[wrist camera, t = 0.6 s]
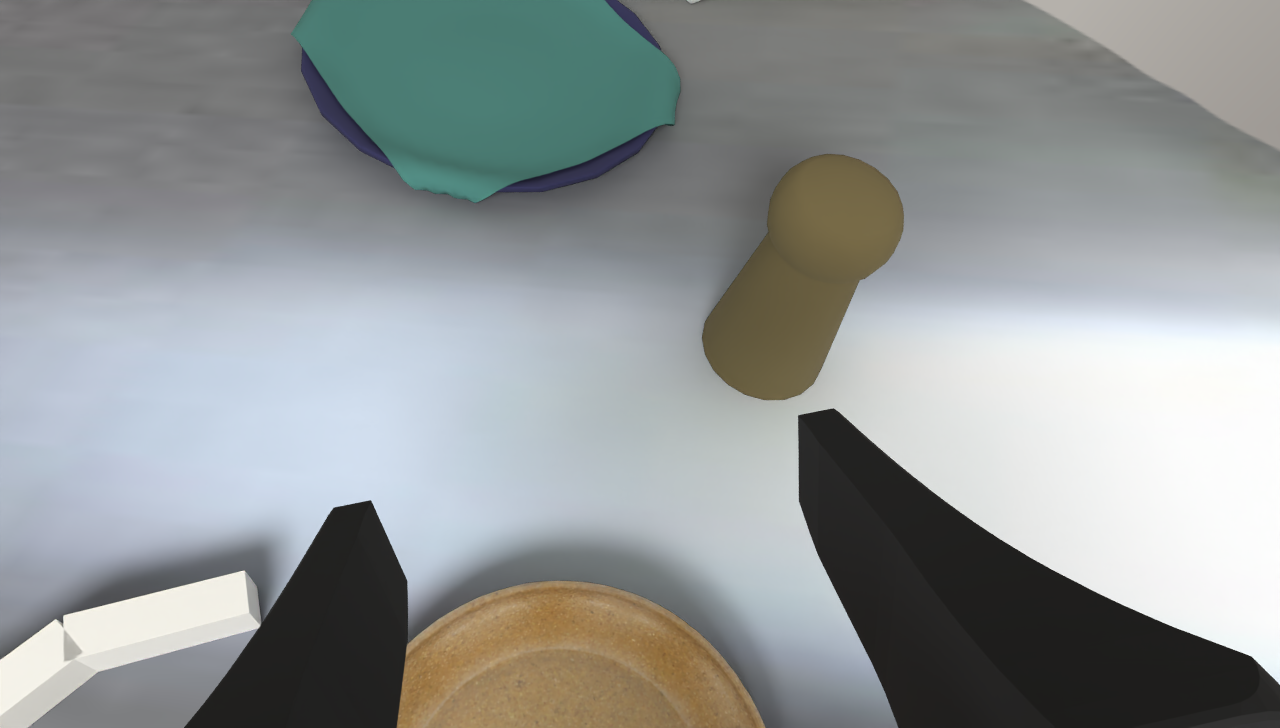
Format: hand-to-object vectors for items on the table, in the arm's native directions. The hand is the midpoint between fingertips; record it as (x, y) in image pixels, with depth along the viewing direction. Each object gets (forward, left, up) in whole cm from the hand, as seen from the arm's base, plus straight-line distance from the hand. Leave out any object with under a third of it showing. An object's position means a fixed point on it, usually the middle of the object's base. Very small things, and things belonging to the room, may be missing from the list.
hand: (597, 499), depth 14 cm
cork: (+12, -15, -19) cm, 27 cm away
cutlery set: (+37, -5, -19) cm, 42 cm away
